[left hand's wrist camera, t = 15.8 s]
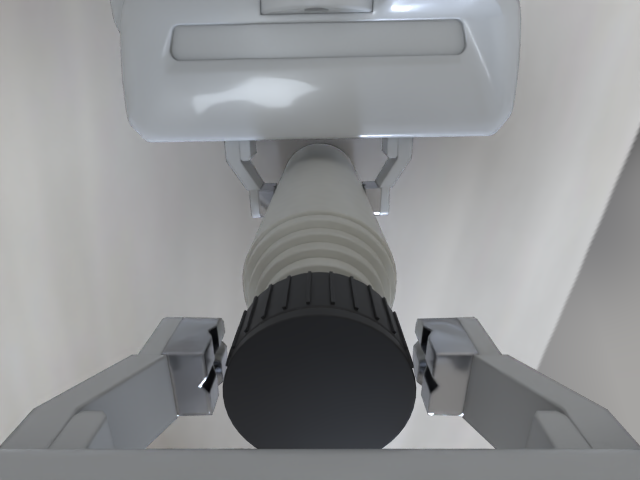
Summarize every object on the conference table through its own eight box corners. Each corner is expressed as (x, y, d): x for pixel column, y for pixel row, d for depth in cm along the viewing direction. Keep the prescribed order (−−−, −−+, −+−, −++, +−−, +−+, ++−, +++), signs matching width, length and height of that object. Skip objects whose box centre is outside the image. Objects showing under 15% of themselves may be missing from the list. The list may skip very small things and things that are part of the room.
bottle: (301, 224, 30) (265, 488, 10) (271, 160, 28) (157, 330, 8) (366, 198, 29) (462, 429, 9) (340, 131, 27) (392, 241, 8)
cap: (394, 405, 11) (409, 469, 9) (243, 403, 11) (227, 467, 9) (408, 269, 9) (430, 314, 8) (232, 268, 9) (210, 312, 8)
